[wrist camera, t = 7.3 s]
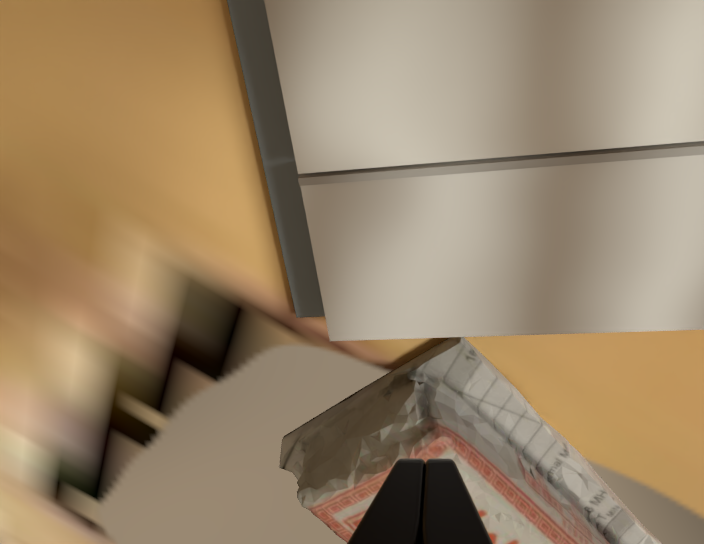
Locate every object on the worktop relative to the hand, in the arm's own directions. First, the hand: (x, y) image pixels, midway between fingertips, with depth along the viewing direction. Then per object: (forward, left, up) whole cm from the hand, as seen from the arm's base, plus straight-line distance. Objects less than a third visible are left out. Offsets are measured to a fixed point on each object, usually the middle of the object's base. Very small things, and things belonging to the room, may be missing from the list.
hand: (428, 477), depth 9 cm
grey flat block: (-4, +2, -12) cm, 13 cm away
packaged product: (-1, +16, -13) cm, 21 cm away
